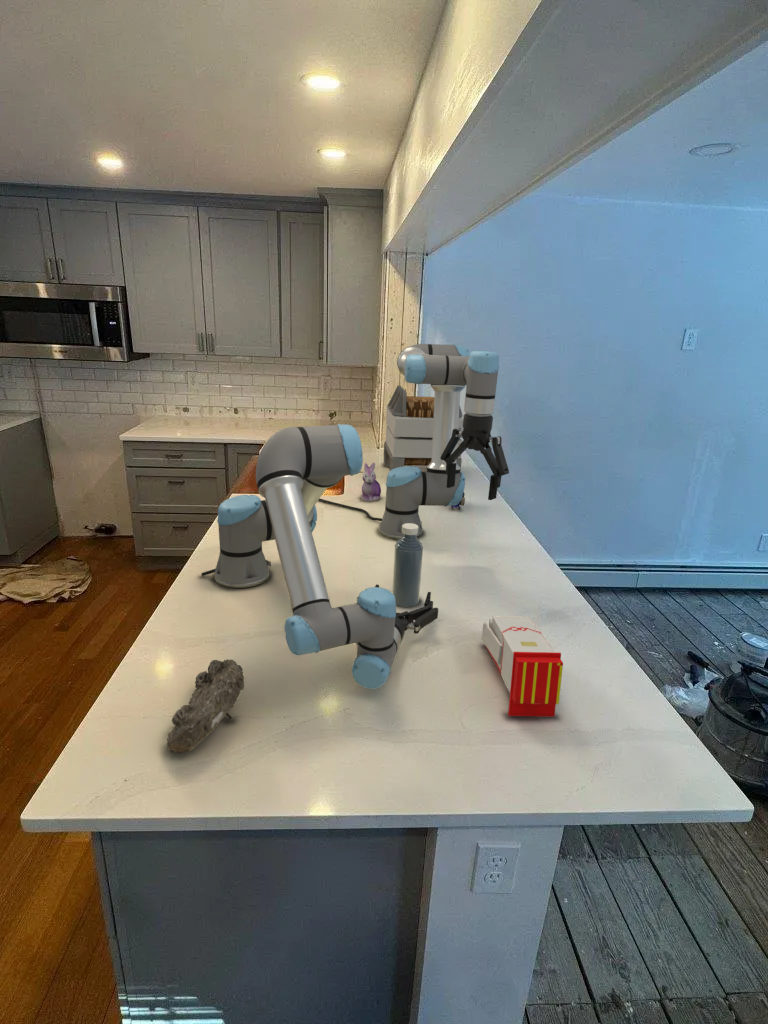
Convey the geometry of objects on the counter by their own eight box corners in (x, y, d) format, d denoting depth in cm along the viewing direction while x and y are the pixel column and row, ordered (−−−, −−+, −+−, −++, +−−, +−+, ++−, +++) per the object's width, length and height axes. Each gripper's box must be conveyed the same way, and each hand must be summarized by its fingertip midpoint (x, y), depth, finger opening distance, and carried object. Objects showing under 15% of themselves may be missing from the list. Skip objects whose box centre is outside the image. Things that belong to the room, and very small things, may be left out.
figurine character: (465, 514, 225) (460, 498, 239) (467, 497, 222) (461, 482, 235) (448, 514, 225) (444, 498, 239) (450, 496, 222) (445, 481, 235)
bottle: (421, 596, 157) (426, 524, 150) (416, 608, 150) (421, 534, 143) (395, 592, 159) (399, 521, 152) (389, 604, 152) (393, 530, 145)
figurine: (365, 503, 229) (367, 467, 224) (355, 495, 237) (356, 461, 232) (386, 500, 233) (388, 465, 228) (375, 493, 242) (376, 459, 237)
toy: (528, 601, 136) (572, 659, 107) (523, 653, 139) (565, 722, 110) (478, 600, 136) (508, 657, 107) (474, 652, 139) (503, 722, 109)
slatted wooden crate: (382, 463, 289) (386, 382, 275) (445, 464, 293) (451, 384, 279) (390, 482, 257) (394, 392, 243) (460, 483, 261) (468, 394, 247)
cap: (419, 530, 149) (419, 524, 149) (416, 536, 145) (416, 530, 145) (403, 528, 150) (404, 522, 150) (400, 534, 146) (400, 527, 146)
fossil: (192, 660, 117) (244, 628, 112) (224, 691, 120) (276, 661, 115) (142, 746, 98) (202, 712, 93) (182, 779, 101) (242, 748, 96)
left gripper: (331, 641, 130) (356, 598, 150) (439, 659, 125) (450, 612, 145) (331, 612, 128) (356, 573, 147) (441, 630, 123) (452, 586, 142)
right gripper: (529, 420, 140) (518, 501, 147) (448, 405, 156) (442, 479, 163) (513, 423, 135) (503, 507, 142) (431, 408, 151) (426, 484, 158)
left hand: (403, 592), depth 146 cm, fingers open, 13 cm apart
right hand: (470, 492), depth 153 cm, fingers open, 13 cm apart
